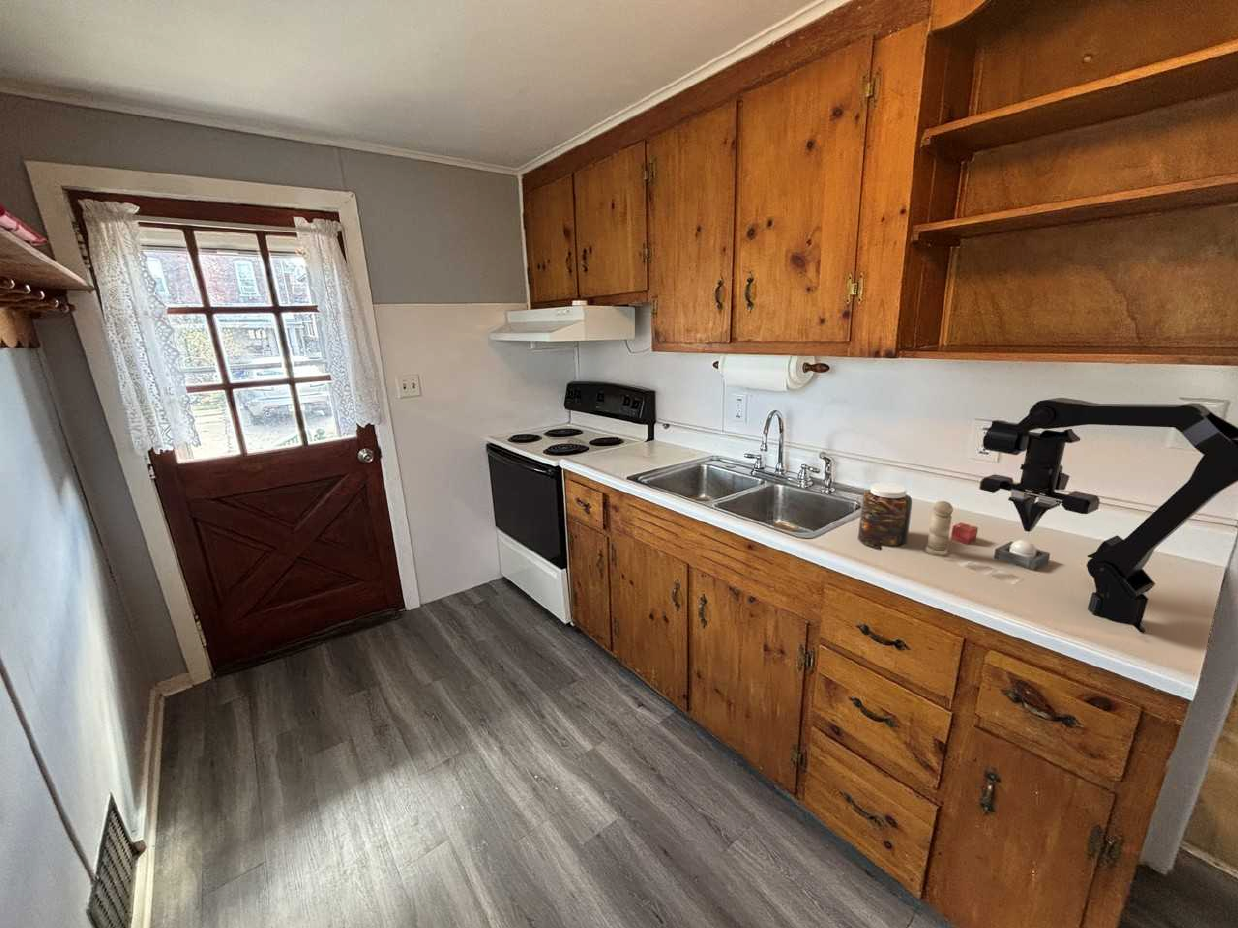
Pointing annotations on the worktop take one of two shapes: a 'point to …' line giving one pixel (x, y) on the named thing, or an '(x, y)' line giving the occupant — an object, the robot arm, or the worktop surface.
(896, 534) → the jar
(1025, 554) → the dome
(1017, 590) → the worktop surface
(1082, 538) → the worktop surface
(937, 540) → the pawn
